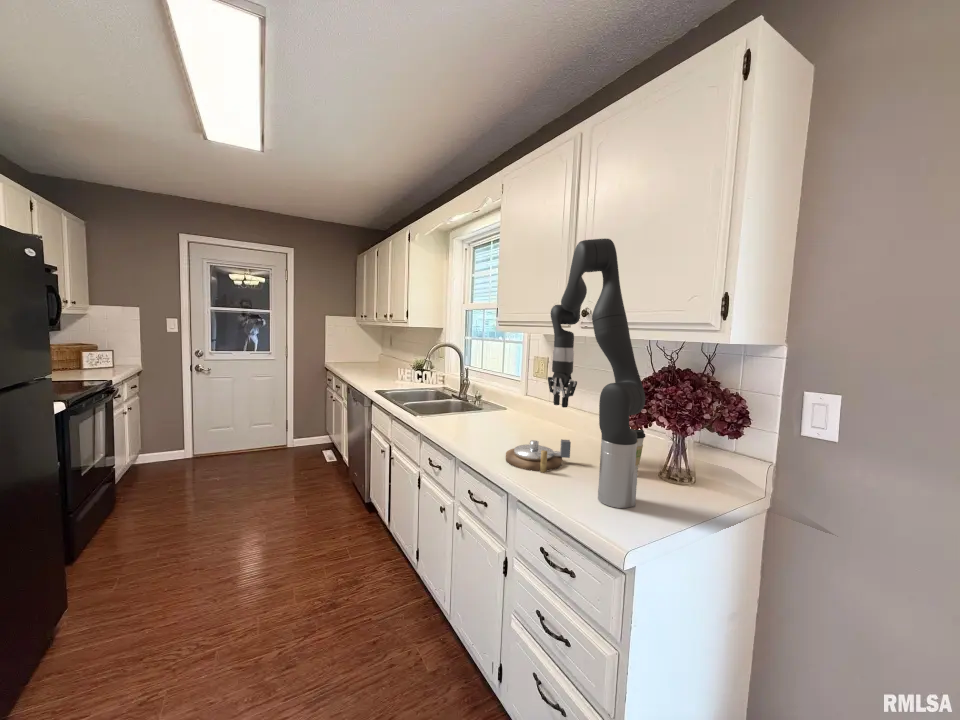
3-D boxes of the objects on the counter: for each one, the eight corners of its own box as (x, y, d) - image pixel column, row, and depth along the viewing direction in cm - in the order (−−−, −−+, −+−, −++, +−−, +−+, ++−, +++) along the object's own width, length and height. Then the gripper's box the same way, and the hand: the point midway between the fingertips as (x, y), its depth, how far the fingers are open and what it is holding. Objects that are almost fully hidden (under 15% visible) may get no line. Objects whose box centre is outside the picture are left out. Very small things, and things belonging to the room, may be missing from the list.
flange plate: (514, 459, 134) (514, 443, 134) (514, 447, 148) (514, 432, 147) (572, 463, 132) (573, 446, 132) (566, 450, 146) (567, 435, 146)
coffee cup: (615, 476, 128) (618, 431, 127) (608, 466, 138) (611, 424, 136) (646, 479, 127) (649, 433, 126) (638, 468, 136) (640, 426, 135)
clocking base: (558, 453, 150) (559, 435, 149) (566, 474, 128) (567, 453, 128) (506, 450, 151) (506, 432, 151) (504, 470, 130) (505, 449, 129)
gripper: (542, 358, 148) (540, 403, 149) (568, 361, 136) (566, 410, 137) (557, 358, 152) (555, 402, 153) (584, 361, 139) (581, 409, 141)
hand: (560, 405), depth 145 cm, fingers open, 3 cm apart
